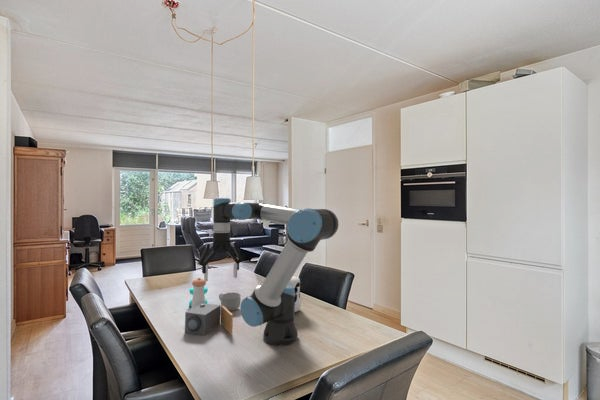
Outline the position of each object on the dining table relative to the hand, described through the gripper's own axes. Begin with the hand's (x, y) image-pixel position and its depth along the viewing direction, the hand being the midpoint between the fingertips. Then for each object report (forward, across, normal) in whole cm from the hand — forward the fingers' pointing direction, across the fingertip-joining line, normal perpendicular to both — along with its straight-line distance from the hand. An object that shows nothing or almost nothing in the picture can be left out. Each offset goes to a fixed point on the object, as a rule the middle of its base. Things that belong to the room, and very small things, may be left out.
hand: (220, 279), depth 142 cm
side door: (+24, -4, -4) cm, 25 cm away
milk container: (+25, -40, -11) cm, 49 cm away
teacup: (+24, -15, -30) cm, 41 cm away
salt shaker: (+24, +2, -29) cm, 38 cm away
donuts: (+24, -2, -44) cm, 50 cm away
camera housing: (+24, +6, -9) cm, 26 cm away
